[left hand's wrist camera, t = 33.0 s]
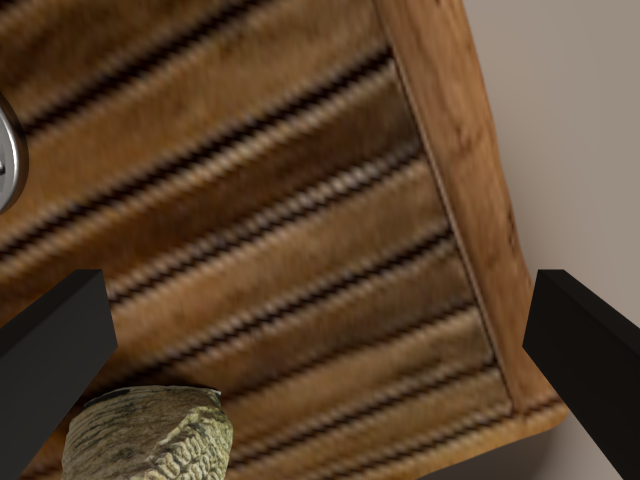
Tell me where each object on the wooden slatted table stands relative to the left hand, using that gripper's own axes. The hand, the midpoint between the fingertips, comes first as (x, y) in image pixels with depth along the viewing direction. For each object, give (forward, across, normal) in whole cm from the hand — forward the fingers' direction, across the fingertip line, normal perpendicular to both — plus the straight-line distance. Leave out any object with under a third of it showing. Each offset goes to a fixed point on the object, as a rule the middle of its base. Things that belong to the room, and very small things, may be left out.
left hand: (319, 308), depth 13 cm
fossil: (+26, +18, +28) cm, 42 cm away
